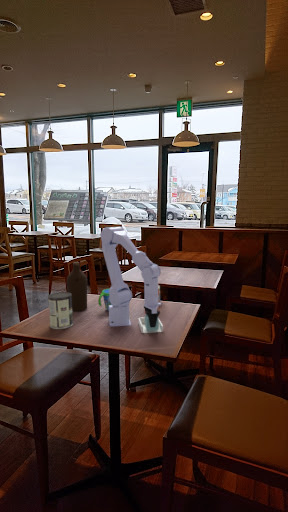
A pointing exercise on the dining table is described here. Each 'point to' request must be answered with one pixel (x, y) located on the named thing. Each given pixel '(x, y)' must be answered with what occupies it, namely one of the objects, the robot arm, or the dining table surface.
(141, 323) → the open box
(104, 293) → the snack cup
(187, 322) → the dining table surface
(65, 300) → the coffee can
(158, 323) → the teal block
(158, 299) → the stack of blocks
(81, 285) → the olive oil
